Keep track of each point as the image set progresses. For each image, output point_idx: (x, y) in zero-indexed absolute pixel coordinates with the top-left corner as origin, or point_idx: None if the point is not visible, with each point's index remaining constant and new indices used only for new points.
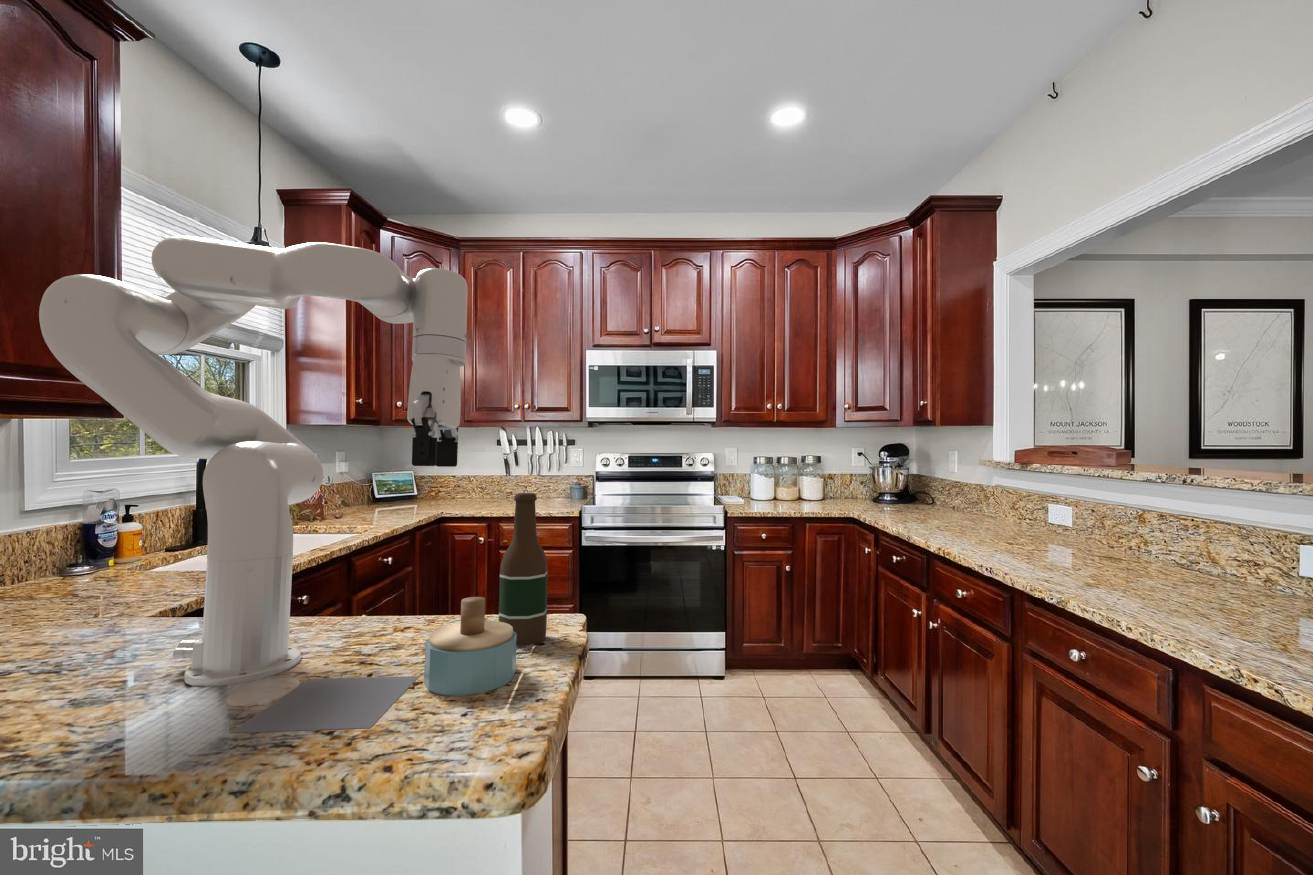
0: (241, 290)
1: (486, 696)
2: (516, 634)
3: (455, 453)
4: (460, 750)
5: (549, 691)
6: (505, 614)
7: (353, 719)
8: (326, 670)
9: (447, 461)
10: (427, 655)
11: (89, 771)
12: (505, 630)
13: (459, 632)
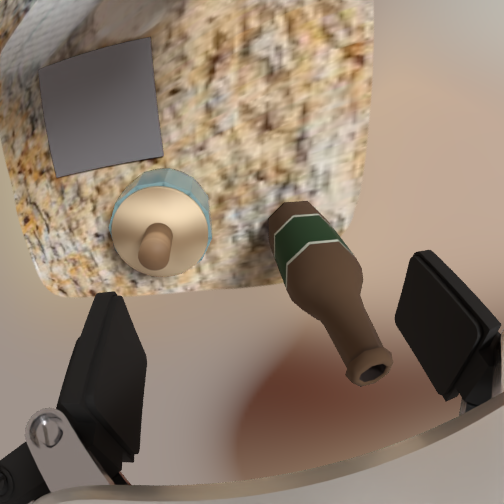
0: None
1: None
2: (181, 273)
3: (417, 358)
4: (54, 253)
5: (151, 285)
6: (281, 229)
7: (65, 153)
8: (188, 32)
9: (409, 308)
10: (128, 190)
11: (3, 28)
12: (168, 269)
13: (154, 222)
